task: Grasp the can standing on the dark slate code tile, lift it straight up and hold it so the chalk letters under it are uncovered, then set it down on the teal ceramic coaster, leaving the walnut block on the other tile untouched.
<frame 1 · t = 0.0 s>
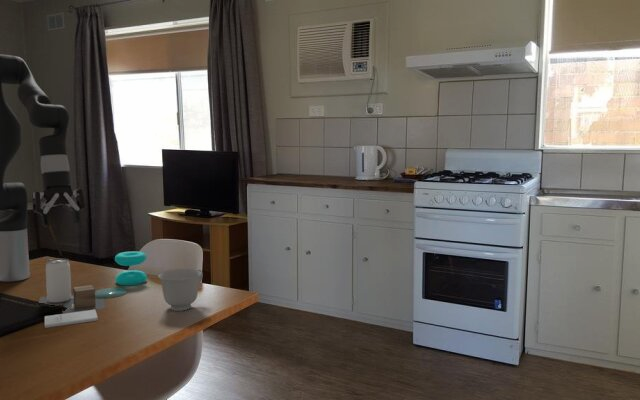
hand: (61, 225, 154), 22 cm above the table, tool pointing down, fingers open, 8 cm apart
teacup: (184, 307, 149), on the table
donuts: (131, 283, 174), on the table
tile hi: (84, 305, 149), on the table
coaster: (110, 294, 161), on the table
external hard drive: (71, 322, 137), on the table
can: (59, 300, 153), resting on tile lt
walnut block: (84, 305, 149), resting on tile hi
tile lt: (59, 300, 153), on the table
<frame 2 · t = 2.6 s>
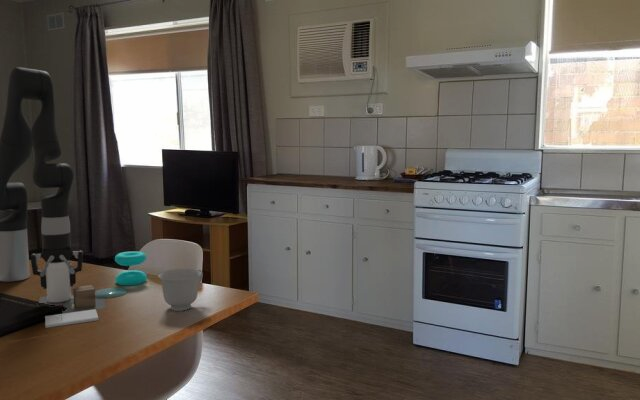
hand: (58, 286, 153), 4 cm above the table, tool pointing down, fingers closed on can, 6 cm apart
can: (59, 300, 153), resting on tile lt, touching gripper
everything else where it was.
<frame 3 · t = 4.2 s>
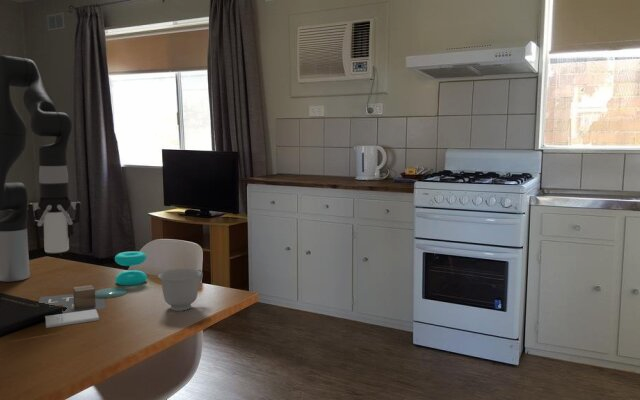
hand: (56, 237, 151), 19 cm above the table, tool pointing down, fingers closed on can, 6 cm apart
can: (57, 251, 152), point 15 cm above the table, touching gripper
everything else where it was.
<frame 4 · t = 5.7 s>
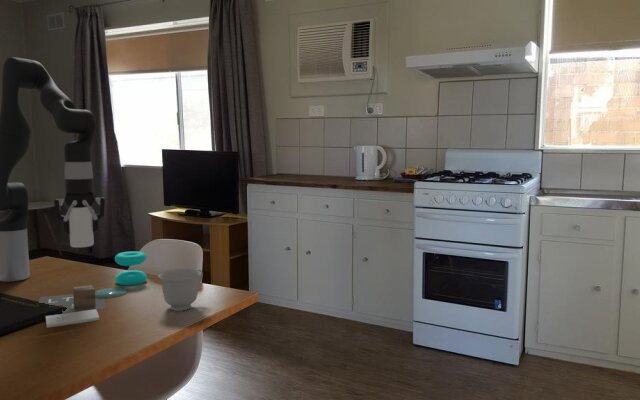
hand: (81, 232, 154), 20 cm above the table, tool pointing down, fingers closed on can, 6 cm apart
can: (82, 246, 155), point 16 cm above the table, touching gripper
everything else where it was.
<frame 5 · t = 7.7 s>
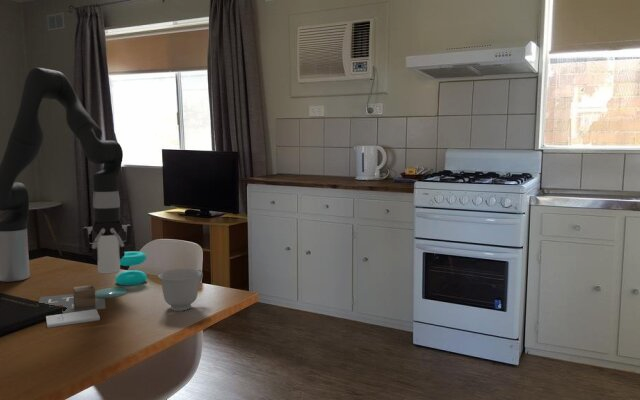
hand: (108, 259, 160), 11 cm above the table, tool pointing down, fingers closed on can, 6 cm apart
can: (109, 272, 160), point 7 cm above the table, touching gripper
everything else where it was.
when the fingers open (6 cm above the table, at t = 9.3 s): can drops 1 cm, resting on coaster.
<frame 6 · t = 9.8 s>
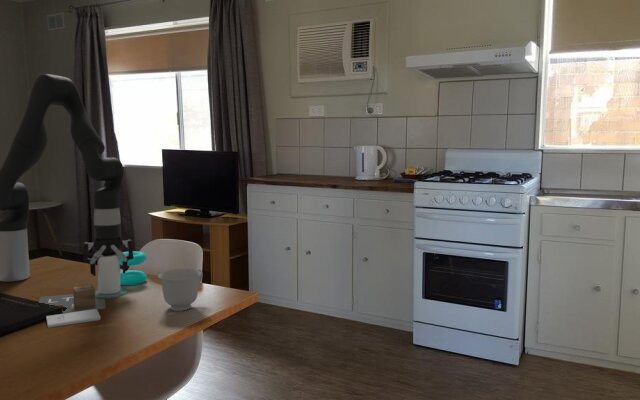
hand: (109, 274, 160), 6 cm above the table, tool pointing down, fingers open, 8 cm apart
can: (109, 292, 161), resting on coaster
everything else where it was.
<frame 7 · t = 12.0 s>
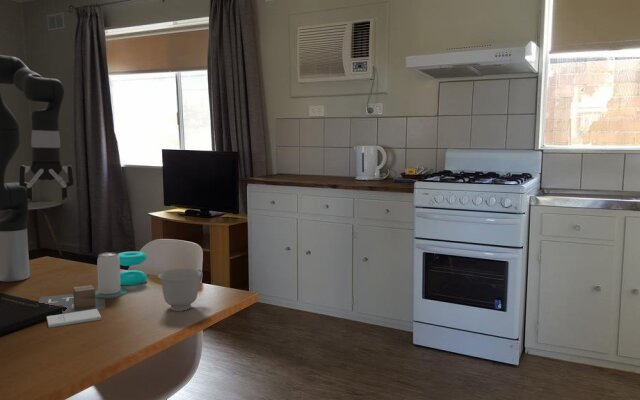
hand: (47, 200, 155), 30 cm above the table, tool pointing down, fingers open, 8 cm apart
nothing on the table moved.
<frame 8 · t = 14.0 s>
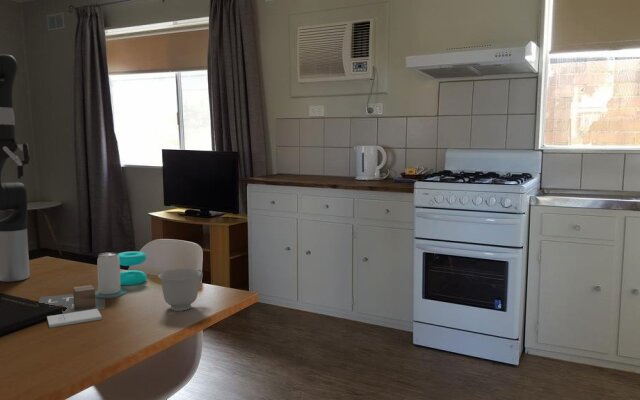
hand: (3, 178, 152), 36 cm above the table, tool pointing down, fingers open, 8 cm apart
nothing on the table moved.
at the end: can inside the target area on the coaster (0.1 cm from its centre), point 0.4 cm above the coaster's base; can tilted 0°; can moved 14.1 cm from its start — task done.
